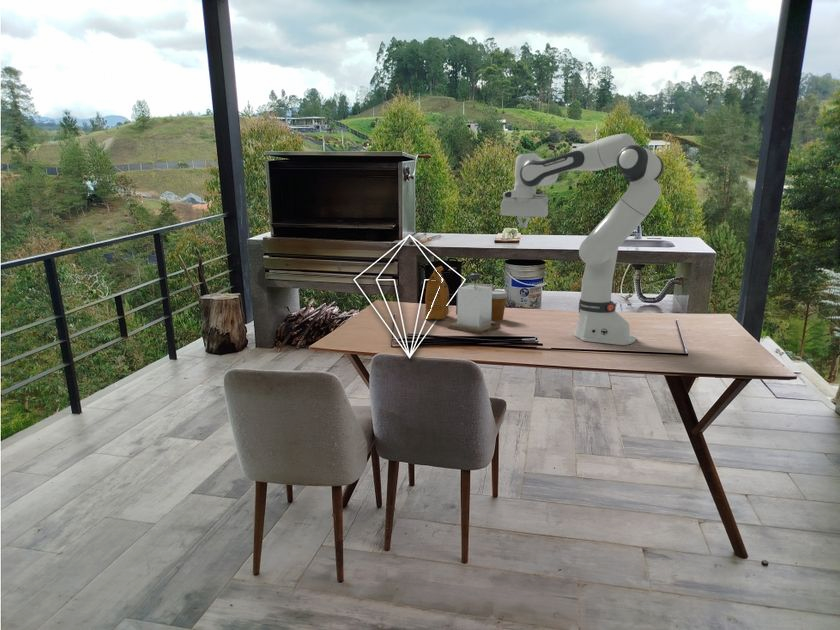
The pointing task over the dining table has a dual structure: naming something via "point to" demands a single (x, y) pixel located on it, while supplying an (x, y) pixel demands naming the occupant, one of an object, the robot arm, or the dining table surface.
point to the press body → (474, 310)
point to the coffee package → (442, 297)
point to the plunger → (475, 278)
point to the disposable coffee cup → (498, 305)
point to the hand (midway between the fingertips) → (523, 227)
